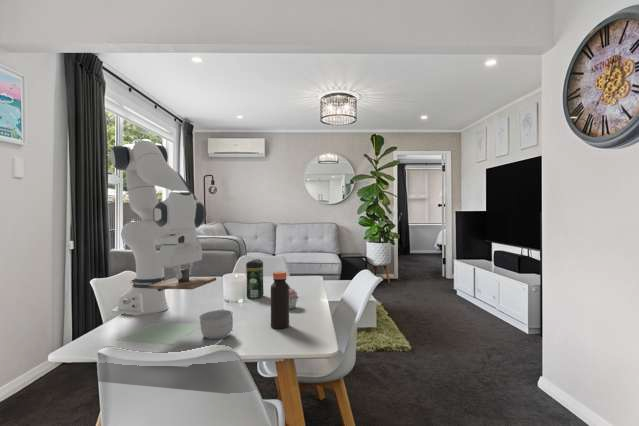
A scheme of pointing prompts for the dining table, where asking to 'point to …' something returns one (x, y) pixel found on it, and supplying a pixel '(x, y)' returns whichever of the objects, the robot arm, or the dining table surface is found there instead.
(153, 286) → the lid
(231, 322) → the teacup
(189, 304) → the dining table surface
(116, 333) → the dining table surface
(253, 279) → the coffee jar
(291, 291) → the cupcake
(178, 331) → the mat
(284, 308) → the bottle
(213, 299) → the dining table surface
